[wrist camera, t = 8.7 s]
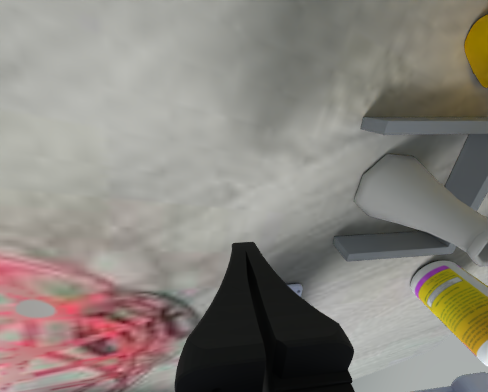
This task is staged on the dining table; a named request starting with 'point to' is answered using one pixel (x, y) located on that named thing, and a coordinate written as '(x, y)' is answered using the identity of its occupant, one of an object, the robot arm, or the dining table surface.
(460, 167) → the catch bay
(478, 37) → the figure statuette
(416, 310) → the dining table surface
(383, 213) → the flask
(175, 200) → the dining table surface
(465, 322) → the supplement bottle
